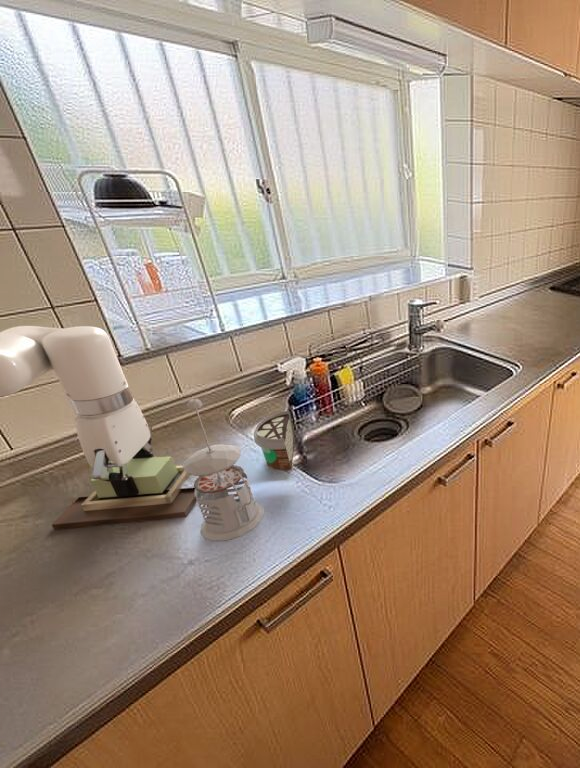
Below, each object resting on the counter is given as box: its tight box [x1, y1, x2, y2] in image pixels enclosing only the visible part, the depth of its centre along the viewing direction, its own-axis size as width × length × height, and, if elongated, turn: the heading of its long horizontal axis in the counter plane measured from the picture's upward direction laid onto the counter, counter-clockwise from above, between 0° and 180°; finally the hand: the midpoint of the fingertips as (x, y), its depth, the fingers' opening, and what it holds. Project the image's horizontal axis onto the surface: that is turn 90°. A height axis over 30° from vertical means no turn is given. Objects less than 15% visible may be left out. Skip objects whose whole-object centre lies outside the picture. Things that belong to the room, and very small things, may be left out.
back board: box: [51, 464, 197, 530], centre depth 80 cm, size 20×15×3 cm
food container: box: [253, 409, 296, 471], centre depth 88 cm, size 12×6×10 cm, turn 21°
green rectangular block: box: [90, 456, 179, 498], centre depth 78 cm, size 10×6×4 cm, turn 102°
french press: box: [183, 398, 265, 542], centre depth 70 cm, size 10×12×25 cm
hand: (138, 482), depth 79 cm, fingers closed on green rectangular block, 6 cm apart
